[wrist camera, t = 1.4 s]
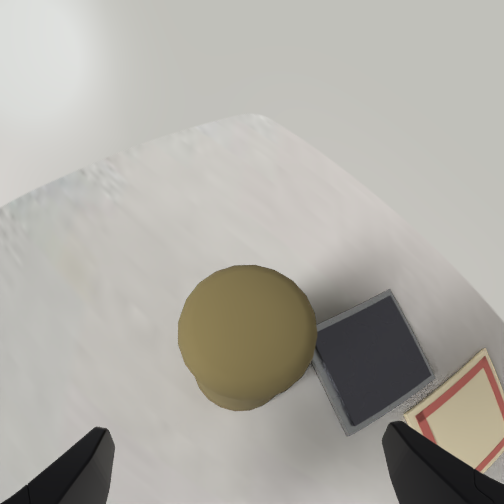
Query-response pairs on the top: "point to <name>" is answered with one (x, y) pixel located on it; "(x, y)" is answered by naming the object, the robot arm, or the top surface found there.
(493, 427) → the print card
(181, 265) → the top surface
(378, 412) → the ink pad
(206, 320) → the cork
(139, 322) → the top surface
